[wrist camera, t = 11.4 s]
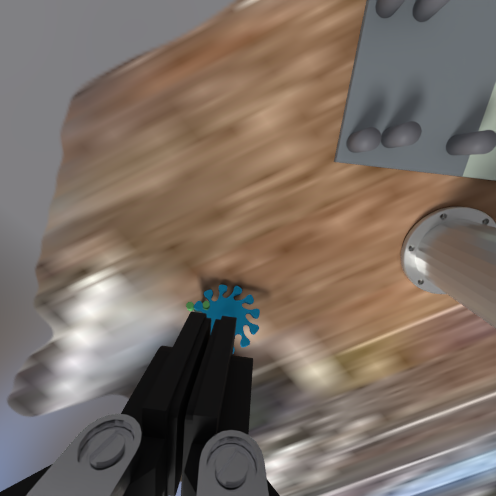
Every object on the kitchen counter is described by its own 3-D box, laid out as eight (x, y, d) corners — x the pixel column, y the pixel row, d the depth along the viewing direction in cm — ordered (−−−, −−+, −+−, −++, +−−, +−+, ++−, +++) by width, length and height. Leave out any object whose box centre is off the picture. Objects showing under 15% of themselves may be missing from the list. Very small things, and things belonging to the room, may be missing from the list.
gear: (270, 298, 39) (245, 365, 35) (264, 307, 45) (242, 367, 40) (203, 270, 40) (170, 332, 36) (205, 283, 46) (176, 338, 41)
